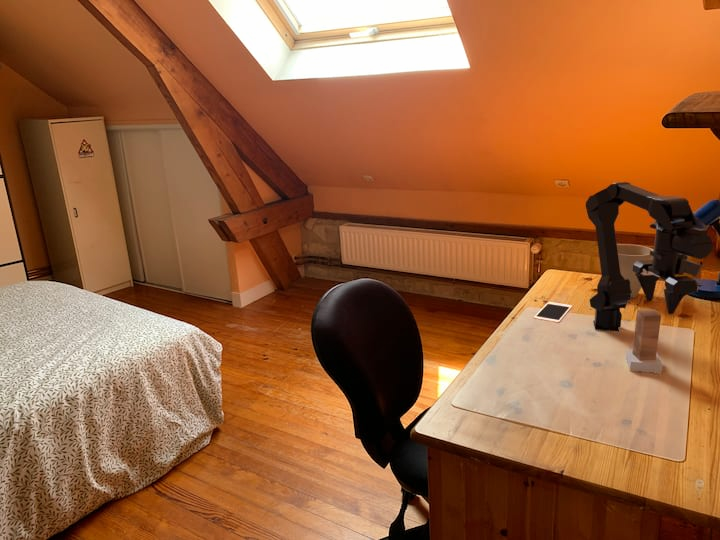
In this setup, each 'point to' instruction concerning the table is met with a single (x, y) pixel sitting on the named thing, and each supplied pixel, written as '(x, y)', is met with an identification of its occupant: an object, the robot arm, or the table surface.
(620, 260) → the plant pot
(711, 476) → the table surface
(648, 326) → the walnut block
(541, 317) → the cell phone
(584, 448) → the table surface
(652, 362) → the base
